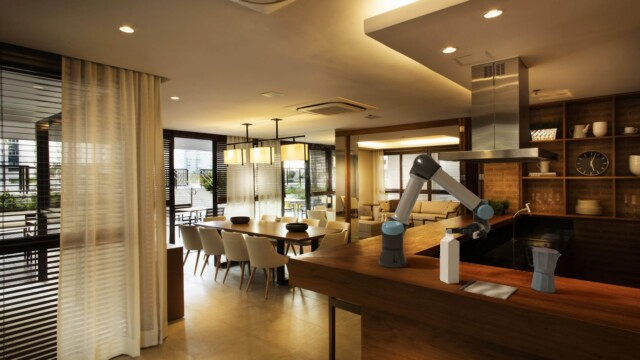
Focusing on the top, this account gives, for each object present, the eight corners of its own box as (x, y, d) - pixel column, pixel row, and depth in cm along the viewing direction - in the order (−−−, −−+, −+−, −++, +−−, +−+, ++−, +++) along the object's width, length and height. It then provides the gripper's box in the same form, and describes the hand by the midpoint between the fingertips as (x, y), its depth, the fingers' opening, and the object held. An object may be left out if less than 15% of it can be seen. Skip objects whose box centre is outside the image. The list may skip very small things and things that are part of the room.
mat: (457, 289, 150) (457, 287, 150) (472, 280, 163) (472, 279, 163) (505, 299, 138) (505, 298, 138) (517, 289, 151) (517, 287, 151)
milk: (447, 284, 158) (448, 235, 158) (439, 280, 164) (439, 233, 164) (459, 282, 160) (459, 234, 160) (450, 279, 166) (450, 232, 165)
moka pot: (554, 296, 142) (554, 247, 142) (517, 286, 155) (518, 241, 155) (567, 293, 146) (567, 245, 146) (530, 283, 160) (531, 239, 160)
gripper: (500, 239, 177) (486, 245, 162) (451, 234, 194) (435, 239, 179) (500, 224, 177) (486, 228, 162) (451, 220, 194) (434, 224, 179)
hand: (459, 234), depth 170 cm, fingers open, 13 cm apart
